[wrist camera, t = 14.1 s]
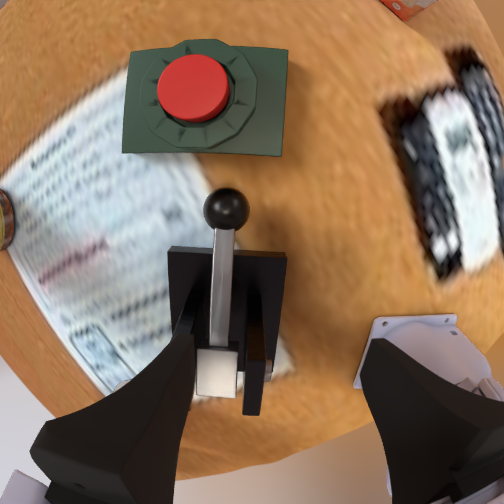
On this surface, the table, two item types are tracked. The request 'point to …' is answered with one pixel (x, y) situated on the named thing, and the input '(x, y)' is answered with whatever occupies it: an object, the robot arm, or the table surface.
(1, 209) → the sauce bottle
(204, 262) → the bracket
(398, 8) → the cracker box
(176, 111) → the button
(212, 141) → the block
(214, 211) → the lever
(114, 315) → the table surface
